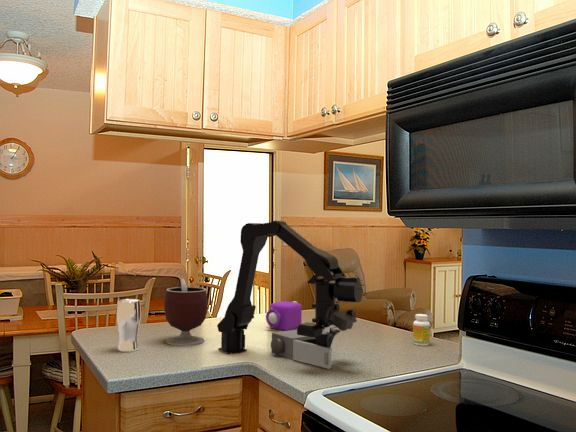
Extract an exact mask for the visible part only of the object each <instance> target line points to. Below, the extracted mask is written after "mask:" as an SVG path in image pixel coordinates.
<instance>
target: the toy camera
mask: <svg viewBox="0 0 576 432" xmlns="http://www.w3.org/2000/svg"><path fill="white" fill-rule="evenodd" d="M268 309H269V310H268V311H266V315H265V321H266V323H267V324H268V326H269V327H270V328H272V329H275V330H279V331H280V330H281V331H288V330H296V329H297V326H298V325H299V324H302V311H303V310H302V309H303V308H302V304H301V303H298V301H294V300H293V301H287V300H285V301H283V300H282V301H277V302H273V303H270V305H269V308H268Z"/></svg>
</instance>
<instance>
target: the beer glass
mask: <svg viewBox="0 0 576 432" xmlns="http://www.w3.org/2000/svg"><path fill="white" fill-rule="evenodd" d="M116 308H117V310H116V323H117V330H118V335H119V337H118V346H117V351H118V352H121V353H132V352H137V351H138V350H139V344H138V342H139V341H138V334H139V328H140V325H141V319H142V318H141V317H142V315H141V314H142V309H141V299H137V298H123V299H118V300H117V307H116Z"/></svg>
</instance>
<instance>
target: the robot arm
mask: <svg viewBox="0 0 576 432" xmlns="http://www.w3.org/2000/svg"><path fill="white" fill-rule="evenodd" d="M275 236H276V237H277V238H278V239H280V240H281V241H282V242H283V243H285V244H286V245H287V246H288V247H290V249H292V250H293V251H294V252H295V253H296V254H298V255H299V256H300V257H301V258H302V259H303V261H305V264H306V266H307V267H308V268H309V269H310V270H311V271H312V273H313V275H312V276H311V278H310V279H308V280H307V284H311V285H314V303H312V304H311V308H312V309H314V314H315V315H314V318H311V322H309V321H308V322H303V323H302V322H301V324H299V325H298V326H297V328H296V329H297V335H302V336H308V337H315V338H316V340H317V342H318V344H319V345H320V346H324V347H328V348H331V346H332V344H333V341H334V338H335V337H336V335H338V334H339V333H340V332H341V331H342V332H343V331H347V330H351V329H352V328H353V326H354V325H353V324H354V323H357V312H356V310H354V309H352V308H351V309H348V310H341V308H340V307H341V305H340V304H339V303H338V302H345V303H346V302H347V303H357V304H359V303H360V302H361V301H362V299H363V295H364V288H363V285H362V283H361V281H360V277H358V276H353V277H352V276H351V277H350V276H349V277H347V276H346V275H345V273H344V272H343V269H341V267H340V266H339V260H338V258H337V257H336V256H335V255H333V254H331V253H330V252H327V251H326V250H323V249H320V248H318V247H316V246H314V245H313V244H312V243H311V242H310V241H308V240H307V239H306V238H304V237H303V236H302V235H301V234H299V233H298V232H297V231H296V230H294V229H293V228H292V227H291V226H289V225H288V224H287V222H286V221H284V220H273V221H269V222H266V223H265V222H263V223H260V222H257V223H256V222H255V223H254V222H247V223H245V224H244V225H243V226H241V230H240V244H241V248H242V254H241V260H240V266H239V270H238V276H237V280H236V285H235V286H236V287H235V291H234V296H233V298H232V299H231V301H230V302H229V304H228V305H227V308H226V311H225V314H224V317H223V318H222V319H221V320H220V321H219V323H217V325H216V327H217V330H218V332H219V333H221V336H220V337H221V340H220V341H221V343H220V344H221V346H220V347H218V350H219V351H221V352H224V353H225V354H236V353H242V352H247V349H246V334H245V330H247V329H248V327H249V324H250V323H251V322H252V320H253V319H255V316H254V315H255V314H254V313H255V311H256V305H254V304H252V301H251V300H252V299H251V298H252V297H251V296H252V292H253V287H254V286H253V285H254V280H255V277H256V271H257V264H258V261H259V255H260V253H261V251H262V250H263V249H264V248H265V245H266V244H267V241H268V238H270V237H275ZM336 300H337V301H338V302H337V303H336ZM337 328H338V329H337ZM331 349H332V348H331Z"/></svg>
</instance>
